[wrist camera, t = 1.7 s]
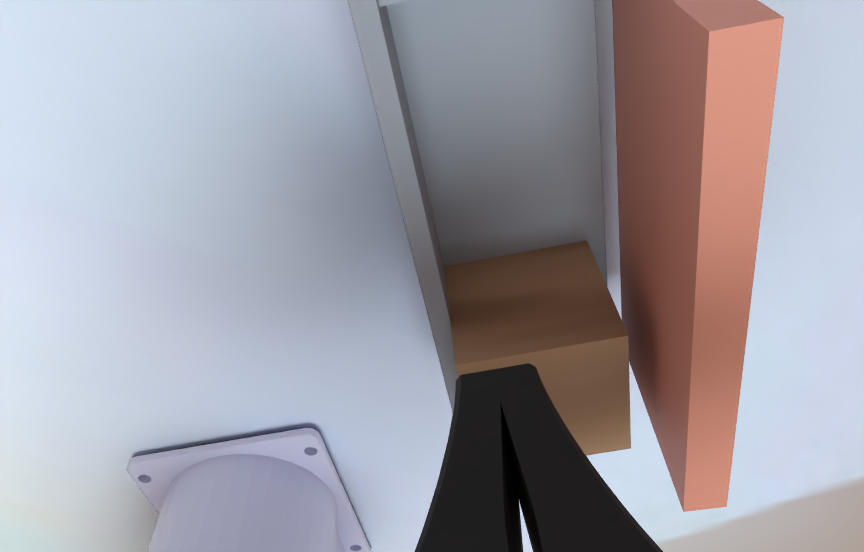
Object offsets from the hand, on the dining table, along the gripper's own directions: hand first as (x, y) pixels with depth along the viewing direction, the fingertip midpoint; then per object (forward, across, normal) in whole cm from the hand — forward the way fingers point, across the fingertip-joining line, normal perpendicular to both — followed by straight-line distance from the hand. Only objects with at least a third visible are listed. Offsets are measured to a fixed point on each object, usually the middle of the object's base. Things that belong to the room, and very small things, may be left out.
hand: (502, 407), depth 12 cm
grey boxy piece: (+10, -1, 0) cm, 10 cm away
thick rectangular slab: (+7, -5, 0) cm, 9 cm away
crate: (+7, -1, +4) cm, 8 cm away
